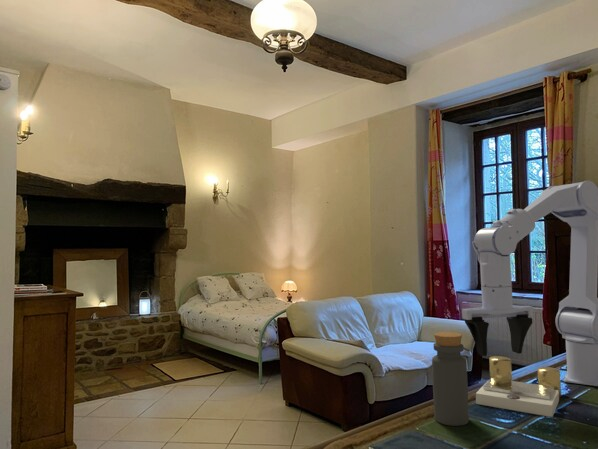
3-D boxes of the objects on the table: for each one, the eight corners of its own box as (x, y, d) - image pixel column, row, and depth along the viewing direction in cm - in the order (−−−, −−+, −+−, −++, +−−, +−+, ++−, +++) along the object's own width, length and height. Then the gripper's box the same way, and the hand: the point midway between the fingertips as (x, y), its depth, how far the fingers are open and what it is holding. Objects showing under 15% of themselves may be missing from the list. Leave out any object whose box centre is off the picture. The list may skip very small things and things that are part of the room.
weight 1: (493, 379, 94) (492, 355, 94) (514, 383, 91) (513, 358, 91) (487, 384, 91) (486, 359, 91) (508, 388, 88) (507, 362, 88)
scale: (488, 389, 95) (488, 379, 95) (559, 400, 88) (558, 389, 88) (476, 403, 87) (475, 392, 87) (552, 417, 80) (551, 404, 80)
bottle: (468, 415, 81) (464, 331, 82) (469, 427, 76) (465, 337, 77) (434, 412, 83) (431, 330, 84) (433, 424, 78) (429, 336, 79)
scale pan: (491, 380, 95) (491, 378, 95) (554, 389, 88) (554, 386, 88) (483, 389, 89) (483, 386, 89) (549, 399, 83) (549, 396, 83)
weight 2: (540, 390, 95) (539, 366, 95) (562, 393, 92) (560, 368, 92) (537, 395, 91) (536, 370, 92) (560, 398, 89) (558, 373, 89)
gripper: (516, 283, 97) (519, 347, 96) (453, 286, 94) (456, 351, 94) (538, 285, 90) (542, 354, 89) (471, 288, 88) (474, 359, 87)
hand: (499, 353), depth 91 cm, fingers open, 7 cm apart
